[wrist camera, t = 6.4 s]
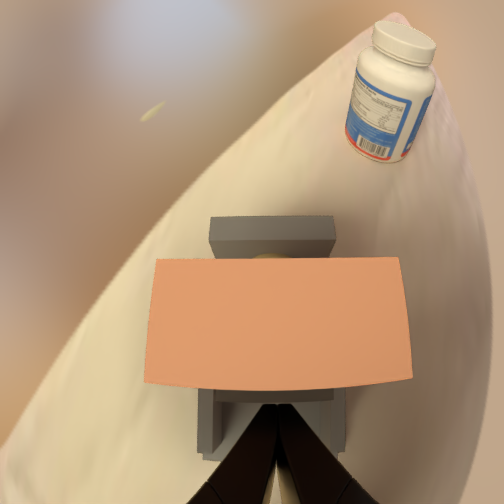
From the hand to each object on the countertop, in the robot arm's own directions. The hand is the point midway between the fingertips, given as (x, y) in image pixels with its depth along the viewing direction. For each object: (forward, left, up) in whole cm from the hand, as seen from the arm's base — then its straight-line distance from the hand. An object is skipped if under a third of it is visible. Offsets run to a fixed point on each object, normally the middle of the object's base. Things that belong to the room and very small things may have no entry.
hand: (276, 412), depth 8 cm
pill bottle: (+18, -8, -7) cm, 21 cm away
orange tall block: (+2, 0, -5) cm, 5 cm away
